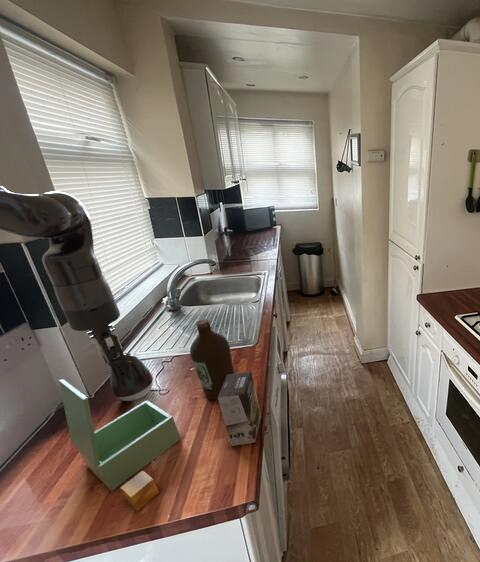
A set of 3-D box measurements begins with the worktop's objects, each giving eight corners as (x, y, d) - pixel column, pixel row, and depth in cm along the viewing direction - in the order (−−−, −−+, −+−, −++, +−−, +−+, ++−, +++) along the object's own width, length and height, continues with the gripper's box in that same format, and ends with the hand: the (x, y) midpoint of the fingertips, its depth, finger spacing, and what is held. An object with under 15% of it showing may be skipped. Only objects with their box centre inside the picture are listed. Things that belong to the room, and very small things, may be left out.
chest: (155, 421, 87) (146, 400, 84) (180, 438, 81) (172, 416, 78) (87, 466, 75) (74, 443, 72) (111, 491, 69) (99, 467, 66)
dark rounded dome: (125, 411, 91) (107, 370, 85) (112, 398, 96) (93, 358, 91) (162, 390, 99) (148, 351, 93) (148, 379, 104) (133, 341, 98)
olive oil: (226, 374, 105) (209, 309, 96) (245, 385, 100) (229, 318, 90) (196, 393, 97) (174, 324, 88) (215, 406, 92) (193, 335, 82)
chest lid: (63, 378, 68) (58, 380, 67) (88, 397, 62) (82, 399, 62) (76, 441, 72) (71, 443, 71) (100, 464, 66) (95, 467, 65)
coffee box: (256, 442, 80) (244, 394, 73) (230, 446, 79) (216, 398, 72) (262, 415, 88) (252, 370, 82) (238, 419, 87) (226, 373, 81)
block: (137, 511, 65) (130, 497, 63) (127, 500, 67) (120, 487, 65) (159, 492, 68) (153, 479, 67) (148, 483, 70) (142, 470, 69)
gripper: (55, 298, 60) (87, 365, 67) (68, 319, 52) (103, 394, 58) (103, 286, 66) (129, 349, 72) (122, 303, 57) (149, 373, 63)
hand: (117, 369), depth 65 cm, fingers open, 8 cm apart
